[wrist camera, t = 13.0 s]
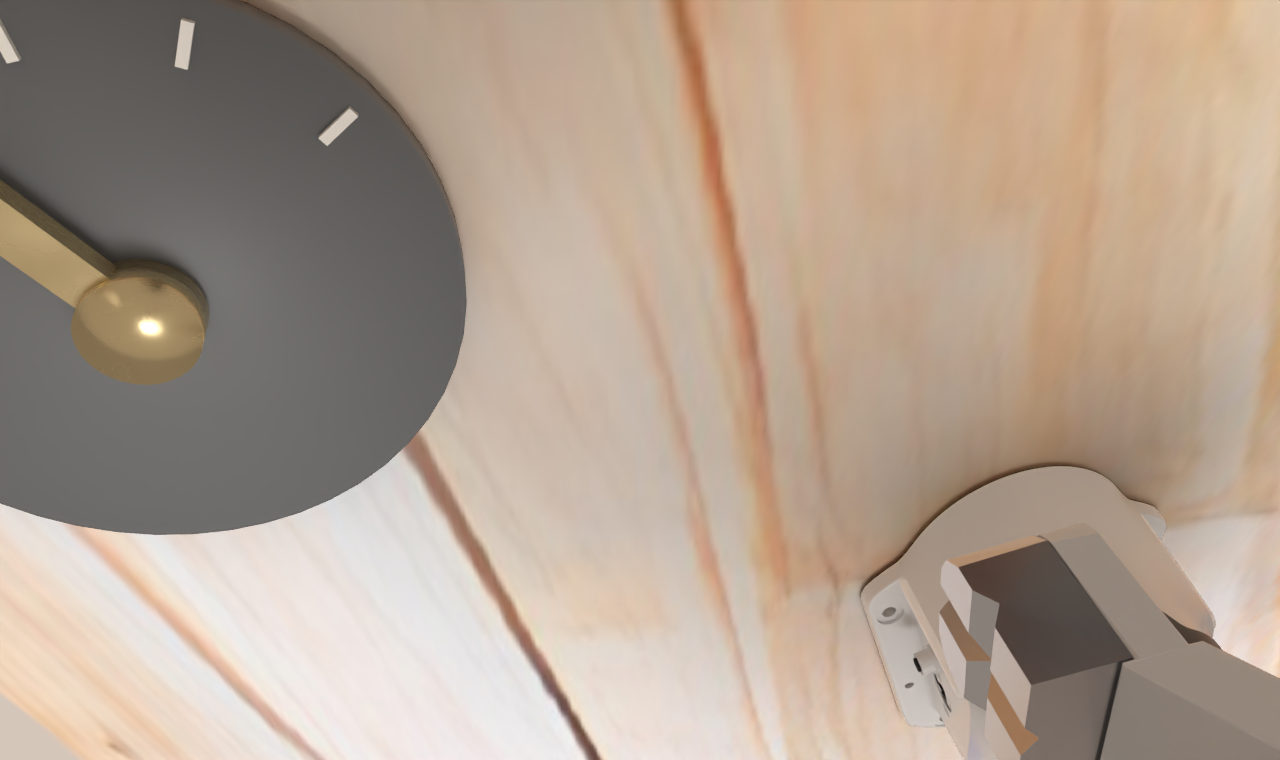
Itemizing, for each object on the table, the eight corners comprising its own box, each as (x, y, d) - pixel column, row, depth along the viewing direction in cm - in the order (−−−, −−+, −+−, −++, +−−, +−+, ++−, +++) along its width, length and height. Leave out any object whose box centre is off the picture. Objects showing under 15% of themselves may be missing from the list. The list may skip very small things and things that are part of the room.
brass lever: (234, 312, 39) (206, 442, 33) (155, 376, 40) (114, 515, 34) (-120, 37, 32) (-244, 139, 25) (-208, 125, 33) (-348, 245, 26)
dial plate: (520, 437, 48) (524, 461, 47) (7, 566, 47) (-4, 594, 45) (359, -103, 34) (358, -92, 32) (-398, 56, 32) (-433, 75, 31)
